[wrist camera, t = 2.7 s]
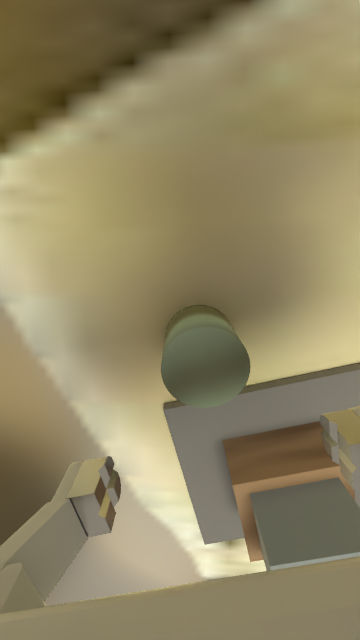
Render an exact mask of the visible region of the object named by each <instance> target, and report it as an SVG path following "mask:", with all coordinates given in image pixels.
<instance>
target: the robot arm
mask: <svg viewBox="0 0 360 640" xmlns="http://www.w3.org/2000/svg"><path fill="white" fill-rule="evenodd" d="M320 424H321V425H322V427H323V428H324V430H323V431H322V433H321V436H322V442H323V445H324V448H325V450H326V452H327V454H328V455H329V457H330V458H331V460H332V461H333V462H335V463H337V464H339V465H340V472H341V474H342V475H343V476H344V478H345V479H346V480H347V482H348V483H349V485H350V486H351V487H352V489H353V490H355V489H360V406H357V407H353V408H348V409H345V410H340V411H335V412H330V413H325V414H321V415H320ZM113 467H114V462H113V459H112V457H110V456H107V457H101V458H95V459H89V460H85V461H79V462H74V463H72V464H71V465H70V466H69V468H68V470H67V472H66V474H65V476H64V478H63V480H62V482H61V484H60V486H59V488H58V490H57V491H56V493H55V496H54V497H53V499H52V501H51V502H49V503H46V504H45V505H44V506H43V507H42V508H41V509H40V510H39V511H38V512H37V513H36V514H35V515H34V516H32V517H31V518H30V519H29V520H28V521H27V522H26V523H25V524H24V525H23V526H22V527H21V528H20V529H19V530H17V531H16V533H14V534H13V535H12V536H11V537H10V538H9V539H8V540H7V541H6V542H5V543H3V545H1V546H0V640H360V556H358V557H352V558H345V559H339V560H333V561H327V562H321V563H314V564H308V565H302V566H296V567H290V568H284V569H277V570H271V571H265V572H259V573H252V574H246V575H240V576H233V577H227V578H221V579H214V580H208V581H202V582H196V583H189V584H184V585H177V586H170V587H164V588H158V589H151V590H146V591H139V592H133V593H127V594H120V595H114V596H108V597H101V598H95V599H89V600H83V601H76V602H71V603H64V604H58V605H51V606H46V604H45V600H46V599H47V597H48V596H49V594H50V593H51V592H52V590H53V589H54V587H55V586H56V584H57V583H58V581H59V580H60V579H61V577H62V576H63V574H64V573H65V571H66V570H67V568H68V567H69V566H70V564H71V563H72V561H73V560H74V558H75V557H76V555H77V554H78V553H79V551H80V550H81V548H82V547H83V545H84V544H85V542H86V541H87V540H88V538H87V537H92V536H97V535H101V534H106V533H111V530H112V526H113V522H114V518H115V514H116V512H115V510H114V506H115V505H116V503H117V502H118V501H119V498H120V493H121V483H120V477H119V475H118V472H116V471H115V470H113Z"/></svg>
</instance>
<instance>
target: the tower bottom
mask: <svg viewBox="0 0 360 640" xmlns="http://www.w3.org/2000/svg"><path fill="white" fill-rule="evenodd" d="M323 430H324V428H323V427H322V425H321V424H320V421H318V422H313V423H308V424H303V425H298V426H292V427H287V428H282V429H277V430H272V431H267V432H262V433H257V434H252V435H246V436H241V437H236V438H231V439H226V440H223V444H224V449H225V453H226V458H227V462H228V467H229V472H230V476H231V481H232V485H233V489H234V494H235V498H236V502H237V506H238V511H239V515H240V519H241V524H242V528H243V532H244V536H245V541H246V545H247V549H248V554H249V558H250V562H252V561H258V560H264V558H263V554H262V551H261V546H260V541H259V536H258V532H257V527H256V522H255V517H254V512H253V508H252V503H251V498H250V493H255V492H260V491H266V490H271V489H277V488H283V487H288V486H294V485H299V484H305V483H310V482H316V481H321V480H327V479H332V478H338V477H339V478H340V480H341V481H342V483H343V484H344V486H345V487H346V489H347V490H348V492H349V493H350V495H351V496H352V498H353V499H354V501H355V490H353V489H352V487H351V486H350V485H349V483H348V482H347V480H346V479H345V478H344V476H343V475H342V474H341V472H340V465H339V464H337V463H335V462H333V461H332V460H331V458H330V457H329V455H328V454H327V452H326V450H325V448H324V445H323V442H322V436H321V433H322V431H323Z"/></svg>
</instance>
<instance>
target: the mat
mask: <svg viewBox="0 0 360 640" xmlns="http://www.w3.org/2000/svg"><path fill="white" fill-rule="evenodd" d="M357 406H360V363H357V364H352V365H348V366H343V367H338V368H333V369H328V370H324V371H319V372H314V373H309V374H304V375H300V376H295V377H290V378H285V379H280V380H276V381H271V382H266V383H261V384H257V385H252V386H247V387H244V388H243V389H242V391H241V392H240V393H239V394H238V395H237V396H236V397H234V398H233V399H232V400H230V401H228V402H226V403H225V404H222V405H219V406H215V407H210V408H199V407H193V406H189V405H186V404H184V403H182V402H180V401H175V402H170V403H165V404H164V409H163V410H164V414H165V417H166V420H167V423H168V427H169V430H170V433H171V436H172V440H173V443H174V446H175V449H176V453H177V456H178V459H179V462H180V466H181V469H182V472H183V475H184V479H185V482H186V485H187V488H188V492H189V495H190V498H191V501H192V505H193V508H194V511H195V514H196V518H197V521H198V524H199V527H200V531H201V534H202V537H203V540H204V544H211V543H217V542H223V541H229V540H235V539H240V538H245V536H244V532H243V528H242V524H241V519H240V515H239V511H238V506H237V502H236V498H235V494H234V489H233V485H232V481H231V476H230V472H229V467H228V462H227V458H226V453H225V449H224V444H223V440H226V439H231V438H236V437H241V436H246V435H252V434H257V433H262V432H267V431H272V430H277V429H282V428H287V427H292V426H298V425H303V424H308V423H313V422H318V421H320V415H321V414H325V413H330V412H335V411H340V410H345V409H348V408H353V407H357ZM355 502H356V504H357V505H358V506H359V508H360V489H355Z"/></svg>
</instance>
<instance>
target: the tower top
mask: <svg viewBox="0 0 360 640" xmlns="http://www.w3.org/2000/svg"><path fill="white" fill-rule="evenodd" d="M250 498H251V503H252V508H253V512H254V517H255V522H256V527H257V532H258V536H259V541H260V546H261V551H262V554H263V558H264V562H265V566H266V569H267V571H271V570H277V569H284V568H290V567H296V566H302V565H308V564H314V563H321V562H327V561H333V560H339V559H345V558H352V557H358V556H360V508H359V506H358V505H357V504H356V502H355V501H354V499H353V498H352V496H351V495H350V493H349V492H348V490H347V489H346V487H345V486H344V484H343V483H342V481H341V480H340V478H339V477H338V478H332V479H327V480H321V481H316V482H310V483H305V484H299V485H294V486H288V487H283V488H277V489H271V490H266V491H260V492H255V493H250Z"/></svg>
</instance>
